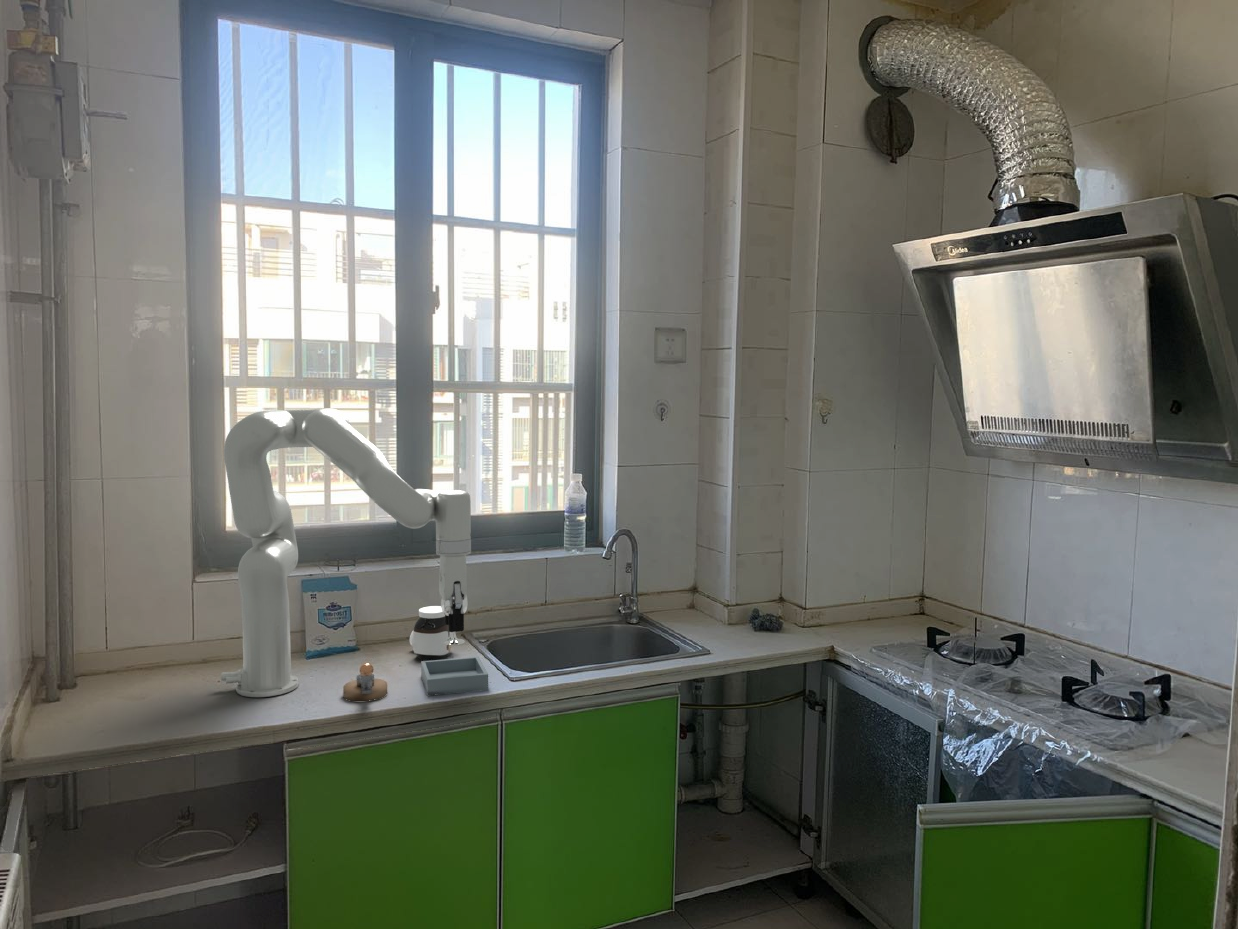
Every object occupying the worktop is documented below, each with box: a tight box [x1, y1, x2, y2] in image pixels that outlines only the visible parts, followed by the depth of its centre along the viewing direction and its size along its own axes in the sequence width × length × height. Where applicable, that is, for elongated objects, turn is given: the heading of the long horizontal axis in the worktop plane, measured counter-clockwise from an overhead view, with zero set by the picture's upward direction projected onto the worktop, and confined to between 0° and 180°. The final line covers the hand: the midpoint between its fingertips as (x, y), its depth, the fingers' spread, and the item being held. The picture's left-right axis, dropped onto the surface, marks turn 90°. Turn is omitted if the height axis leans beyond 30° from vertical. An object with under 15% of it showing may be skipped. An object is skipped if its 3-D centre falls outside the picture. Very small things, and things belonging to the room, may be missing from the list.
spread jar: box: [409, 605, 454, 661], centre depth 214 cm, size 12×11×12 cm
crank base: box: [342, 678, 388, 702], centre depth 186 cm, size 9×9×2 cm
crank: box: [356, 662, 375, 694], centre depth 182 cm, size 10×4×7 cm, turn 18°
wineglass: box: [440, 594, 468, 646], centre depth 193 cm, size 6×6×12 cm
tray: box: [420, 656, 489, 696], centre depth 194 cm, size 13×13×4 cm
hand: (454, 626), depth 193 cm, fingers closed on wineglass, 5 cm apart
